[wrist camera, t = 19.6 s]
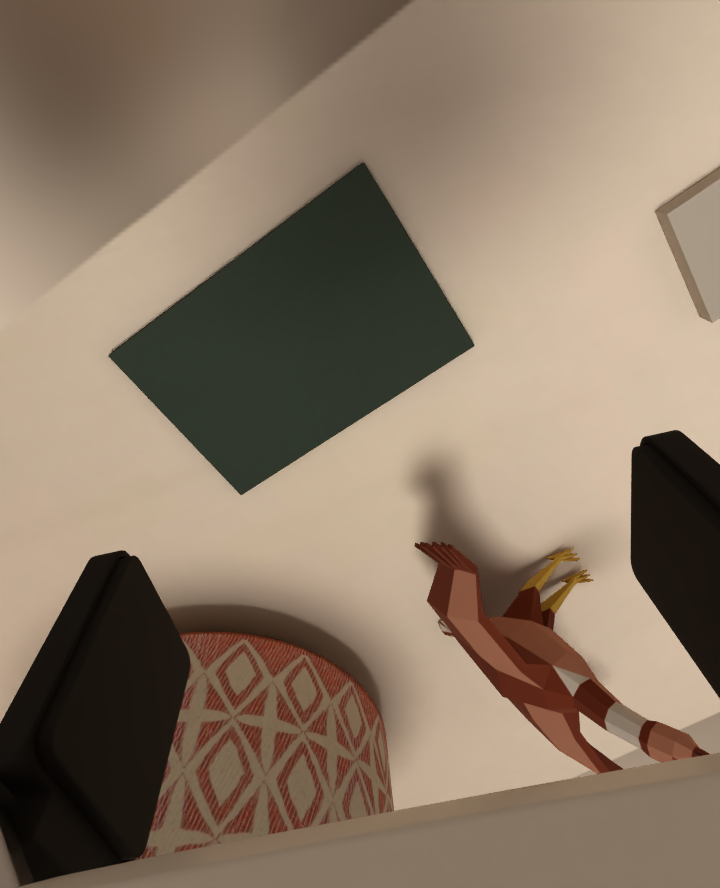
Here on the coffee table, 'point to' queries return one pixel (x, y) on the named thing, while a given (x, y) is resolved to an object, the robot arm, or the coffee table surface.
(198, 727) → the planter
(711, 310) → the white pop-up card
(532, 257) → the coffee table surface
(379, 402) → the felt mat
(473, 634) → the decorative bird
